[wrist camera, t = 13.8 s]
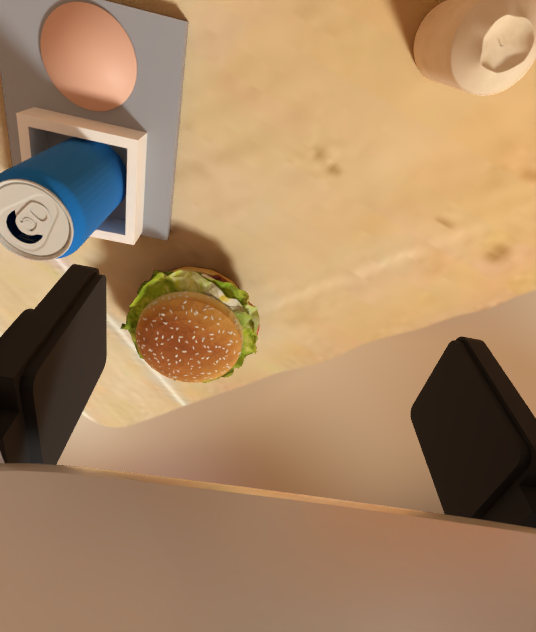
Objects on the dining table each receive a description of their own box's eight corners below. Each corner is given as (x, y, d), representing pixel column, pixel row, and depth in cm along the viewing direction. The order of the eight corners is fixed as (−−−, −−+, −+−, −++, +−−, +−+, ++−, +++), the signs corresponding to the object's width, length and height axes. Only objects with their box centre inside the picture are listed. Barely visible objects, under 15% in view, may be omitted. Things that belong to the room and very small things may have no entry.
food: (286, 299, 46) (289, 344, 40) (213, 372, 53) (205, 421, 46) (182, 224, 42) (165, 261, 35) (114, 314, 48) (89, 359, 41)
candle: (422, 95, 35) (469, 115, 27) (403, 23, 32) (448, 21, 24) (491, 59, 33) (563, 69, 25) (476, -19, 31) (552, -37, 22)
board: (-4, -28, 31) (-39, -36, 27) (188, 21, 32) (178, 20, 29) (24, 206, 41) (0, 223, 37) (169, 235, 42) (160, 254, 39)
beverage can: (42, 165, 37) (-44, 214, 27) (88, 117, 35) (13, 150, 25) (99, 221, 40) (41, 283, 30) (146, 179, 38) (99, 231, 28)
